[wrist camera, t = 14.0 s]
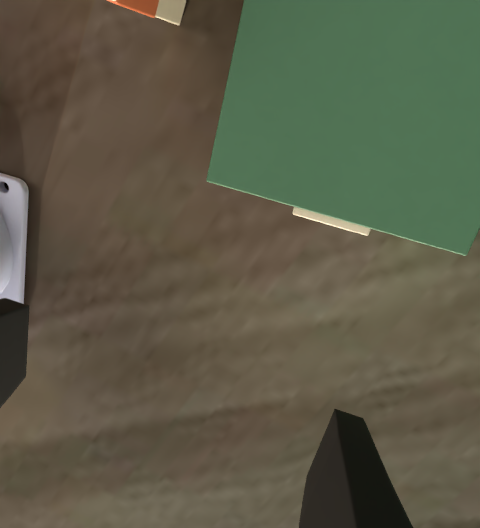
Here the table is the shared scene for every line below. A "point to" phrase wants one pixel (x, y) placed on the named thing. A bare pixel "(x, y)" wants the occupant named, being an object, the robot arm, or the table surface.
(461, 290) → the table surface
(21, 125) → the table surface
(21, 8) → the table surface
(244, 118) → the lunchbox
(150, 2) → the juice carton
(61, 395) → the table surface
